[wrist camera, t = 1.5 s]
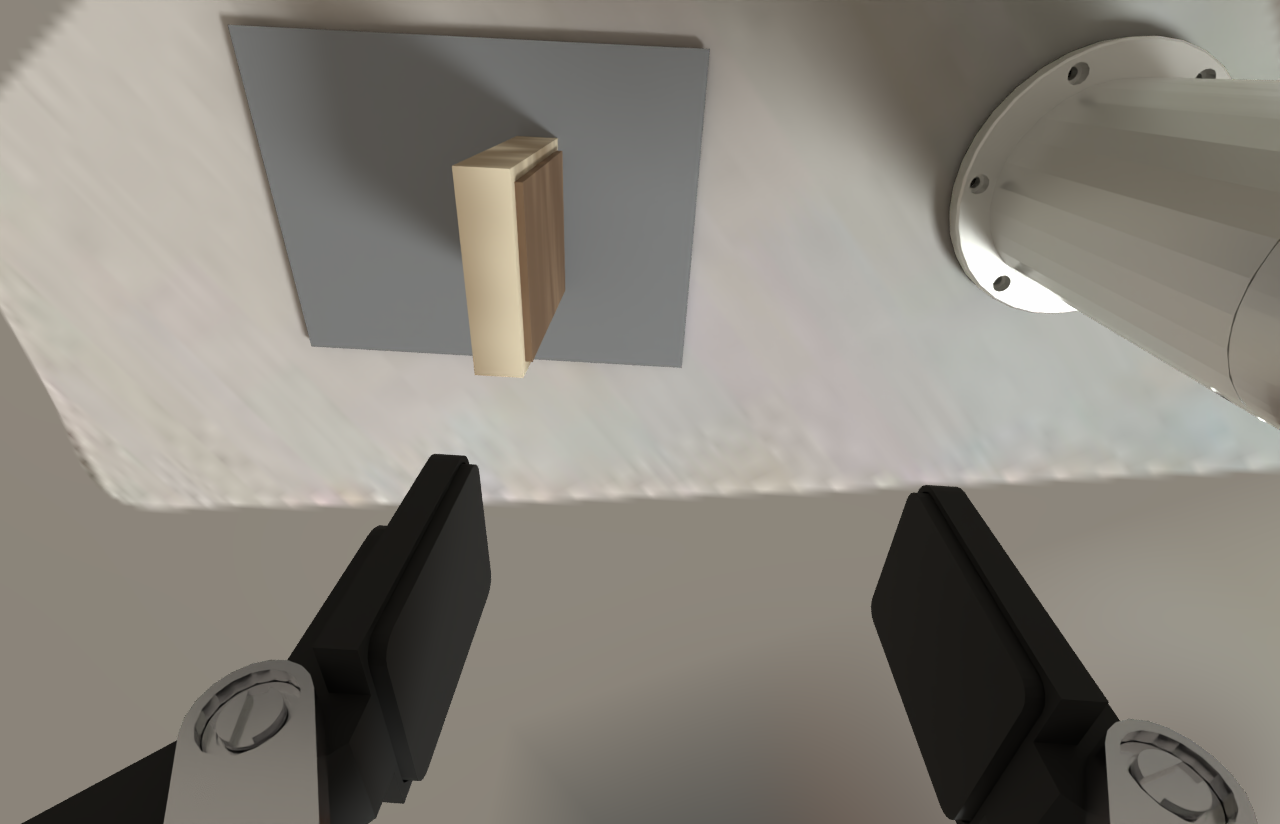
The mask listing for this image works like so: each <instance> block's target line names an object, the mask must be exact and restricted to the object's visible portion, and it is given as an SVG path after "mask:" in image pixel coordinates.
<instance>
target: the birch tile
mask: <svg viewBox="0 0 1280 824" xmlns="http://www.w3.org/2000/svg"><path fill="white" fill-rule="evenodd" d="M452 172H453V181H454V190H455V199H456V208H457V217H458V226H459V235H460V244H461V253H462V262H463V272H464V281H465V290H466V299H467V308H468V317H469V326H470V335H471V344H472V353H473V362H474V371H475V375H484V376H501V377H519V378H524V375H525V373H526V371H527V369H528V367H529V365H530V363H531V362H533V360H534V358H535V355H536V353H537V351H538V349H539V347H540V345H541V342H542V340H543V338H544V336H545V334H546V331H547V329H548V327H549V325H550V323H551V321H552V318H553V316H554V314H555V312H556V310H557V308H558V305H559V303H560V301H561V299H562V297H563V295H564V292H565V249H564V202H563V155H562V151H558V138H545V137H526V136H516V137H514V138H511V139H509V140H507V141H505V142H503V143H500V144H498V145H496V146H494V147H492V148H490V149H487V150H485V151H483V152H481V153H479V154H477V155H474V156H472V157H470V158H468V159H466V160H464V161H461V162H459V163H457V164H455V165H453V166H452Z"/></svg>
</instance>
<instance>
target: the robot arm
mask: <svg viewBox="0 0 1280 824" xmlns="http://www.w3.org/2000/svg"><path fill="white" fill-rule="evenodd" d="M1071 69H1072V74H1071V75H1070V77H1069V78H1068V73H1069V71H1070V70H1071ZM975 177H976V182H975V184H974V185H973V186H970V183H971V182H972V180H973V179H974V178H975ZM949 216H950V236H951V240H952V244H953V248H954V251H955V255H956V257H957V259H958V261H959V263H960V265H961V267H962V268H963V270H964V272H965V274H966V275H967V276H968V277H969V278H970V279H971V280H972V281H973V282H974V283H975V285H976V286H977V287H978V288H980V289H981V290H982V291H984V292H985V293H986V294H988V295H989V296H990V297H992V298H993V299H995V300H997V301H999V302H1001V303H1003V304H1005V305H1007V306H1009V307H1012V308H1015V309H1019V310H1023V311H1027V312H1031V313H1048V314H1056V313H1065V312H1074V311H1079V312H1081V313H1083V314H1084V315H1086V316H1088V317H1089V318H1091V319H1093V320H1094V321H1096V322H1098V323H1099V324H1101V325H1103V326H1104V327H1106V328H1108V329H1109V330H1111V331H1113V332H1114V333H1116V334H1118V335H1119V336H1121V337H1123V338H1124V339H1126V340H1128V341H1129V342H1131V343H1133V344H1134V345H1136V346H1138V347H1139V348H1141V349H1143V350H1144V351H1146V352H1148V353H1150V354H1151V355H1153V356H1155V357H1156V358H1158V359H1160V360H1161V361H1163V362H1165V363H1166V364H1168V365H1170V366H1171V367H1173V368H1175V369H1176V370H1178V371H1180V372H1181V373H1183V374H1185V375H1186V376H1188V377H1190V378H1191V379H1193V380H1195V381H1196V382H1198V383H1200V384H1201V385H1203V386H1205V387H1206V388H1208V389H1210V390H1212V391H1213V392H1215V393H1217V394H1218V395H1220V396H1222V397H1223V398H1225V399H1227V400H1228V401H1230V402H1232V403H1233V404H1235V405H1237V406H1238V407H1240V408H1242V409H1243V410H1245V411H1247V412H1248V413H1250V414H1252V415H1253V416H1255V417H1257V418H1258V419H1260V420H1262V421H1265V422H1266V423H1268V424H1270V425H1272V426H1273V427H1275V428H1277V429H1278V430H1280V80H1240V79H1232V78H1231V76H1230V75H1229V73H1228V71H1227V70H1226V68H1225V67H1224V66H1223V65H1222V64H1221V63H1220V62H1219V61H1218V60H1217V59H1215V58H1214V57H1213V56H1212V55H1211V54H1210V53H1209V52H1208V51H1206V50H1204V49H1202V48H1200V47H1198V46H1195V45H1193V44H1191V43H1189V42H1187V41H1185V40H1180V39H1174V38H1168V37H1162V36H1130V37H1124V38H1118V39H1112V40H1105V41H1100V42H1097V43H1094V44H1092V45H1089V46H1086V47H1083V48H1080V49H1078V50H1075V51H1072V52H1070V53H1068V54H1066V55H1065V56H1063V57H1061V58H1059V59H1057V60H1055V61H1054V62H1052V63H1050V64H1048V65H1046V66H1045V67H1043V68H1041V69H1040V70H1039V71H1038V72H1036V73H1035V74H1034V75H1032V76H1031V77H1030V78H1028V79H1027V80H1026V81H1024V82H1023V83H1022V84H1020V85H1019V86H1018V87H1017V88H1016V89H1015V90H1014V91H1013V92H1012V93H1011V94H1010V95H1009V96H1008V97H1007V98H1006V99H1005V100H1004V101H1003V102H1002V103H1001V104H1000V105H999V106H998V107H997V108H996V109H995V110H994V111H993V113H992V114H991V115H990V117H989V118H988V119H987V121H986V122H985V124H984V125H983V126H982V128H981V129H980V130H979V132H978V133H977V134H976V136H975V138H974V140H973V142H972V143H971V145H970V147H969V149H968V151H967V153H966V155H965V157H964V159H963V160H962V163H961V166H960V169H959V172H958V175H957V177H956V180H955V183H954V186H953V192H952V198H951V204H950V211H949ZM997 278H998V279H997ZM995 279H997V280H996V281H995ZM994 281H995V282H994ZM488 553H489V552H488V544H487V535H486V527H485V519H484V510H483V501H482V492H481V484H480V475H479V469H478V466H477V465H472V464H469V461H468V459H467V457H466V456H460V455H444V454H433V455H431V456H430V458H429V459H428V461H427V462H426V464H425V466H424V467H423V469H422V470H421V472H420V474H419V475H418V477H417V478H416V480H415V482H414V483H413V485H412V487H411V488H410V490H409V491H408V493H407V495H406V496H405V498H404V499H403V501H402V503H401V504H400V506H399V508H398V509H397V511H396V513H395V514H394V516H393V517H392V519H391V521H390V522H389V524H388V526H381V525H379V526H377V527H375V528H374V529H373V530H372V531H371V532H370V534H369V535H368V536H367V538H366V539H365V541H364V542H363V544H362V545H361V547H360V549H359V550H358V552H357V553H356V555H355V556H354V558H353V559H352V561H351V563H350V564H349V565H348V567H347V569H346V570H345V572H344V573H343V575H342V576H341V578H340V579H339V581H338V583H337V584H336V586H335V587H334V589H333V590H332V592H331V593H330V595H329V596H328V598H327V600H326V601H325V603H324V604H323V606H322V607H321V609H320V610H319V612H318V613H317V615H316V617H315V618H314V620H313V621H312V623H311V624H310V626H309V627H308V629H307V630H306V632H305V634H304V635H303V637H302V638H301V640H300V641H299V643H298V644H297V646H296V648H295V649H294V651H293V652H292V654H291V655H290V657H289V658H288V660H268V661H263V662H258V663H254V664H250V665H248V666H246V667H243V668H241V669H239V670H236V671H234V672H231V673H230V674H228V675H227V676H225V677H224V678H222V679H221V680H219V681H218V682H216V683H214V684H213V685H212V686H211V687H210V688H209V689H208V690H206V692H204V693H203V694H202V695H201V696H200V697H199V698H198V699H197V700H196V701H195V703H194V704H193V706H192V707H191V708H190V710H189V711H188V713H187V714H186V715H185V717H184V719H183V722H182V725H181V728H180V731H179V733H178V738H177V741H175V742H173V743H171V744H169V745H167V746H166V747H164V748H162V749H160V750H158V751H156V752H154V753H152V754H151V755H149V756H147V757H145V758H143V759H141V760H139V761H138V762H136V763H134V764H132V765H130V766H128V767H126V768H124V769H123V770H121V771H119V772H117V773H115V774H113V775H111V776H109V777H108V778H106V779H104V780H102V781H100V782H98V783H96V784H95V785H93V786H91V787H89V788H87V789H85V790H83V791H82V792H80V793H78V794H76V795H74V796H72V797H70V798H68V799H67V800H65V801H63V802H61V803H59V804H57V805H55V806H54V807H52V808H50V809H48V810H46V811H44V812H42V813H41V814H39V815H37V816H35V817H33V818H31V819H29V820H27V821H26V822H24V823H22V824H368V823H370V822H371V821H372V820H373V819H375V818H376V817H377V814H378V811H379V809H380V806H381V804H382V802H389V803H402V804H403V803H404V802H405V800H406V797H407V794H408V791H409V788H410V786H411V783H412V780H414V781H421V780H422V779H423V778H424V776H425V774H426V772H427V770H428V767H429V764H430V762H431V759H432V756H433V753H434V750H435V747H436V744H437V741H438V738H439V736H440V732H441V730H442V726H443V724H444V721H445V718H446V715H447V712H448V709H449V707H450V704H451V701H452V698H453V695H454V692H455V689H456V686H457V684H458V681H459V678H460V675H461V672H462V669H463V666H464V663H465V660H466V658H467V655H468V652H469V649H470V646H471V643H472V640H473V637H474V634H475V631H476V628H477V626H478V623H479V620H480V617H481V614H482V611H483V608H484V606H485V603H486V600H487V597H488V594H489V590H490V583H491V570H490V561H489V554H488ZM871 610H872V611H871V612H872V618H873V622H874V625H875V627H876V630H877V633H878V636H879V638H880V641H881V644H882V647H883V649H884V652H885V655H886V658H887V660H888V663H889V666H890V668H891V671H892V674H893V677H894V679H895V682H896V685H897V688H898V691H899V693H900V696H901V699H902V702H903V704H904V707H905V710H906V712H907V715H908V718H909V721H910V724H911V726H912V729H913V732H914V735H915V737H916V740H917V743H918V746H919V748H920V751H921V754H922V757H923V759H924V762H925V765H926V767H927V770H928V773H929V776H930V778H931V781H932V784H933V787H934V789H935V792H936V795H937V798H938V801H939V803H940V806H941V808H942V810H943V812H944V814H945V815H946V817H948V818H949V819H951V820H955V821H956V823H957V824H1258V823H1257V819H1256V815H1255V812H1254V809H1253V807H1252V805H1251V803H1250V801H1249V798H1248V796H1247V794H1246V792H1245V791H1244V790H1243V788H1242V787H1241V786H1240V784H1239V783H1238V782H1237V780H1236V779H1235V778H1234V776H1233V775H1232V774H1231V773H1230V772H1229V771H1228V770H1227V769H1226V768H1225V767H1224V766H1223V765H1222V764H1221V763H1220V762H1219V761H1218V760H1217V759H1216V758H1215V757H1214V756H1213V755H1211V754H1210V753H1209V752H1207V751H1206V750H1204V749H1203V748H1202V747H1200V746H1199V745H1198V744H1196V743H1195V742H1193V741H1192V740H1191V739H1189V738H1187V737H1185V736H1183V735H1181V734H1179V733H1177V732H1175V731H1173V730H1171V729H1170V728H1167V727H1164V726H1162V725H1159V724H1156V723H1153V722H1150V721H1144V720H1134V719H1127V720H1123V721H1120V720H1119V719H1118V717H1117V716H1116V714H1115V713H1114V711H1113V710H1112V709H1111V707H1110V706H1109V704H1108V700H1107V699H1106V697H1105V696H1104V695H1103V693H1102V692H1101V690H1100V689H1099V687H1098V686H1097V684H1096V683H1095V681H1094V680H1093V678H1092V677H1091V676H1090V674H1089V673H1088V671H1087V670H1086V669H1085V667H1084V665H1083V664H1082V662H1081V661H1080V660H1079V658H1078V657H1077V655H1076V654H1075V652H1074V651H1073V650H1072V648H1071V647H1070V645H1069V644H1068V642H1067V641H1066V639H1065V638H1064V636H1063V635H1062V634H1061V632H1060V630H1059V629H1058V628H1057V626H1056V625H1055V623H1054V622H1053V620H1052V619H1051V618H1050V616H1049V614H1048V613H1047V612H1046V610H1045V609H1044V607H1043V606H1042V604H1041V603H1040V602H1039V600H1038V598H1037V597H1036V596H1035V594H1034V593H1033V591H1032V590H1031V588H1030V587H1029V586H1028V584H1027V583H1026V581H1025V580H1024V578H1023V577H1022V575H1021V574H1020V573H1019V571H1018V569H1017V568H1016V566H1015V565H1014V564H1013V562H1012V561H1011V559H1010V558H1009V556H1008V555H1007V554H1006V552H1005V550H1004V549H1003V548H1002V546H1001V545H1000V543H999V542H998V540H997V539H996V538H995V536H994V535H993V533H992V532H991V530H990V529H989V527H988V526H987V524H986V523H985V521H984V520H983V518H982V517H981V516H980V514H979V513H978V511H977V510H976V508H975V507H974V505H973V504H972V503H971V501H970V500H969V498H968V497H967V495H966V494H965V492H964V491H963V490H962V489H961V488H958V487H949V486H933V485H924V486H922V487H921V488H920V489H919V491H918V493H911V494H910V495H909V496H908V499H907V501H906V504H905V507H904V510H903V512H902V516H901V518H900V521H899V524H898V527H897V530H896V533H895V535H894V538H893V541H892V544H891V547H890V550H889V552H888V556H887V558H886V561H885V564H884V567H883V570H882V573H881V576H880V578H879V581H878V584H877V587H876V590H875V593H874V595H873V598H872V604H871Z"/></svg>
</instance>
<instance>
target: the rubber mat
mask: <svg viewBox="0 0 1280 824" xmlns="http://www.w3.org/2000/svg"><path fill="white" fill-rule="evenodd" d="M228 27H229V31H230V35H231V39H232V43H233V47H234V50H235V54H236V58H237V62H238V66H239V70H240V74H241V77H242V81H243V85H244V89H245V93H246V97H247V100H248V104H249V108H250V112H251V116H252V120H253V123H254V127H255V131H256V135H257V139H258V143H259V146H260V150H261V154H262V158H263V162H264V166H265V169H266V173H267V177H268V181H269V185H270V189H271V192H272V196H273V200H274V204H275V208H276V212H277V216H278V219H279V223H280V227H281V231H282V235H283V239H284V242H285V246H286V250H287V254H288V258H289V262H290V265H291V269H292V273H293V277H294V281H295V285H296V288H297V292H298V296H299V300H300V304H301V308H302V311H303V315H304V319H305V323H306V327H307V331H308V335H309V338H310V342H311V346H314V347H331V348H349V349H366V350H383V351H400V352H418V353H435V354H452V355H470V356H473V353H472V344H471V335H470V326H469V317H468V308H467V299H466V290H465V281H464V272H463V262H462V253H461V244H460V235H459V226H458V217H457V208H456V199H455V190H454V181H453V172H452V166H453V165H455V164H457V163H459V162H461V161H464V160H466V159H468V158H470V157H472V156H474V155H477V154H479V153H481V152H483V151H485V150H487V149H490V148H492V147H494V146H496V145H498V144H500V143H503V142H505V141H507V140H509V139H511V138H514V137H516V136H526V137H545V138H558V151H562V155H563V202H564V249H565V292H564V295H563V297H562V299H561V301H560V303H559V305H558V308H557V310H556V312H555V314H554V316H553V318H552V321H551V323H550V325H549V327H548V329H547V331H546V334H545V336H544V338H543V340H542V342H541V345H540V347H539V349H538V351H537V353H536V355H535V358H534V359H539V360H556V361H573V362H590V363H608V364H625V365H642V366H660V367H677V368H682V357H683V346H684V334H685V323H686V312H687V301H688V289H689V278H690V267H691V255H692V244H693V233H694V222H695V210H696V199H697V188H698V176H699V165H700V154H701V143H702V131H703V120H704V109H705V97H706V86H707V75H708V63H709V52H710V49H698V48H678V47H658V46H638V45H618V44H598V43H579V42H559V41H539V40H519V39H499V38H480V37H460V36H440V35H420V34H400V33H381V32H361V31H341V30H321V29H301V28H282V27H262V26H242V25H228Z"/></svg>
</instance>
